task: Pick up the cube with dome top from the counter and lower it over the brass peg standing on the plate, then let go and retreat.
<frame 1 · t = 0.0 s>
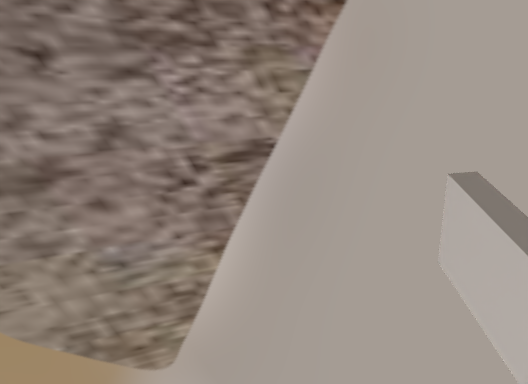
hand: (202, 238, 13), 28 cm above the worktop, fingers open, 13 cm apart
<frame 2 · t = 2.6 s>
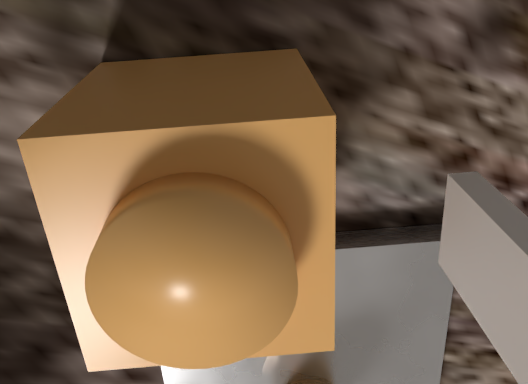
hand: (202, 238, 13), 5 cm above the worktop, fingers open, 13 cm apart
plate with brass peg: (301, 365, 23), on the worktop
cube with dome top: (209, 146, 18), on the worktop
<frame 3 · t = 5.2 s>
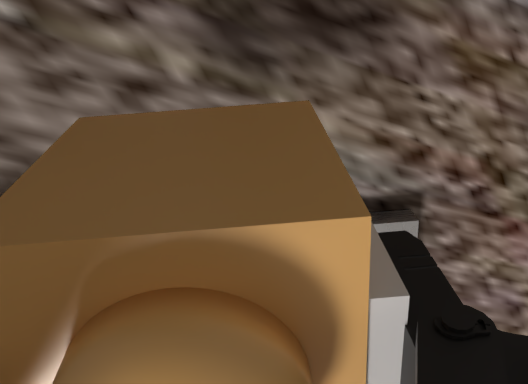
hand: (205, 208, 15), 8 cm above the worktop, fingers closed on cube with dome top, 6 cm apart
plate with brass peg: (292, 334, 27), on the worktop
cube with dome top: (207, 210, 15), point 7 cm above the worktop, touching gripper
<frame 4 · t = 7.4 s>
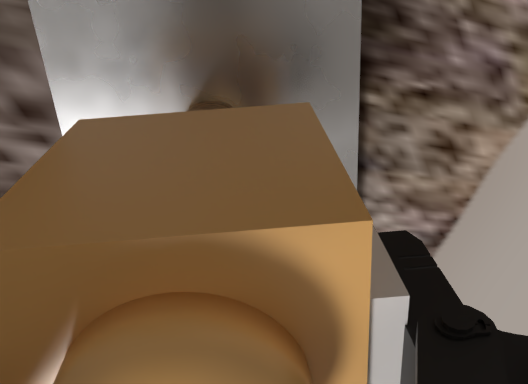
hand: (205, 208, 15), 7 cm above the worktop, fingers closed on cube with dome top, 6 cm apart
plate with brass peg: (211, 102, 21), on the worktop
cube with dome top: (207, 212, 15), point 7 cm above the worktop, touching gripper
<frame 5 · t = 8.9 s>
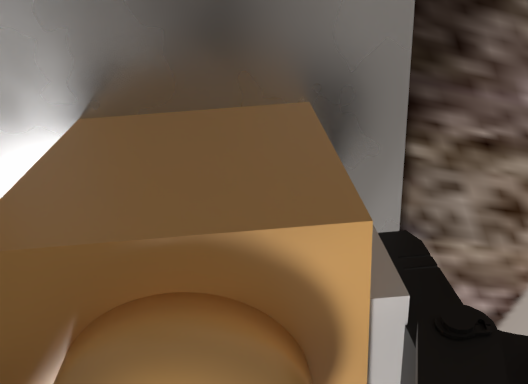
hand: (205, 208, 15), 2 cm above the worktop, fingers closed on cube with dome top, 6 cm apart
plate with brass peg: (204, 155, 16), on the worktop
cube with dome top: (207, 212, 15), point 1 cm above the worktop, touching gripper, plate with brass peg
when the fingers open (2 cm above the worktop, at t = 9.5 s): cube with dome top stays where it is, resting on plate with brass peg.
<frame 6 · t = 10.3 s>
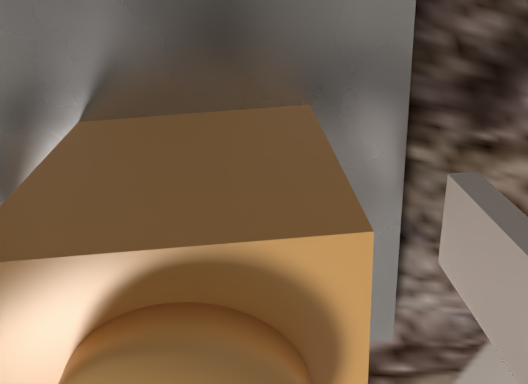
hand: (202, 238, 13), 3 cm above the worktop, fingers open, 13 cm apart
plate with brass peg: (204, 158, 16), on the worktop
cube with dome top: (207, 214, 15), point 1 cm above the worktop, touching plate with brass peg
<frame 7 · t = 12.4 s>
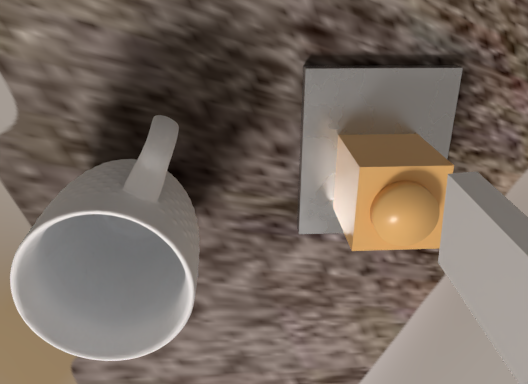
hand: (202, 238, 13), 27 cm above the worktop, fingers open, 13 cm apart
mug: (143, 187, 41), on the worktop
plate with brass peg: (371, 151, 41), on the worktop
cube with dome top: (374, 171, 41), point 1 cm above the worktop, touching plate with brass peg
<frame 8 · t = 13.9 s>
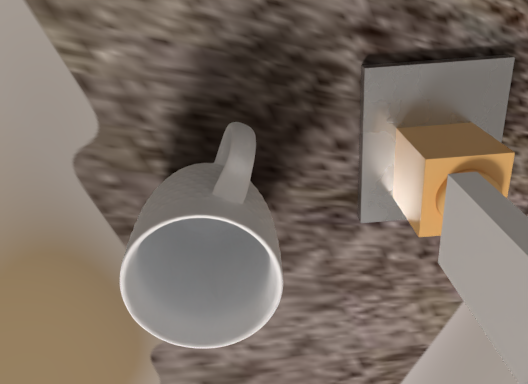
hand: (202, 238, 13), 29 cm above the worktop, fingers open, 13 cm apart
mug: (214, 188, 44), on the worktop
plate with brass peg: (427, 141, 43), on the worktop
cube with dome top: (431, 160, 43), point 1 cm above the worktop, touching plate with brass peg
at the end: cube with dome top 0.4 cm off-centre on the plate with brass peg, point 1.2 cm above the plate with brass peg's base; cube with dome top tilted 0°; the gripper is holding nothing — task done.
